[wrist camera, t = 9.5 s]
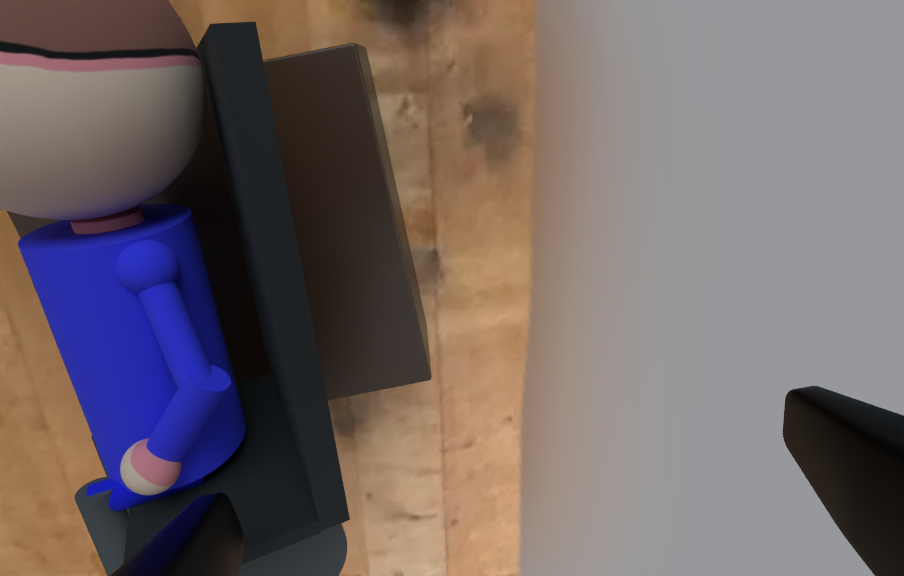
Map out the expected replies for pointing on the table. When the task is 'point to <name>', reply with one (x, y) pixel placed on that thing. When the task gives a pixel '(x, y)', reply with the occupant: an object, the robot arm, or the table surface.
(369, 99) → the walnut block
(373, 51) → the table surface
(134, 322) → the character figurine
